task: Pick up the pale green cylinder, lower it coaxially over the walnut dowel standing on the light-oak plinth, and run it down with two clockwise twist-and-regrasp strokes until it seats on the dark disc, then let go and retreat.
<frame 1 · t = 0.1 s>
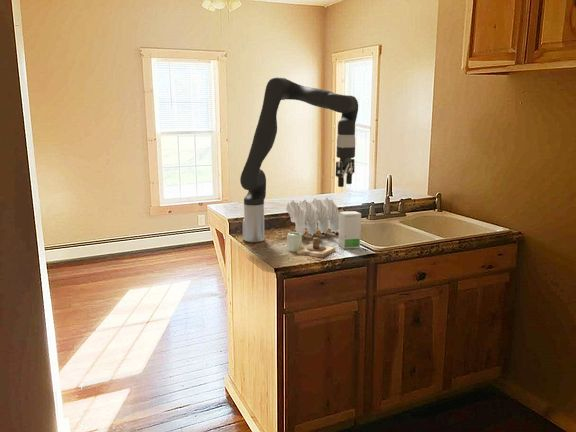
hand: (344, 185, 208), 29 cm above the table, fingers open, 8 cm apart
skincare box: (349, 247, 225), on the table
post: (316, 252, 216), on the table
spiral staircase: (315, 234, 247), on the table
pale green cylinder: (294, 249, 220), on the table
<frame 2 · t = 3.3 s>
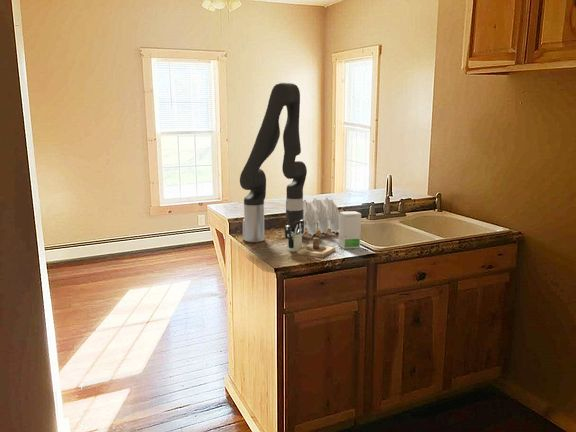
hand: (294, 245, 220), 2 cm above the table, fingers closed on pale green cylinder, 6 cm apart
pale green cylinder: (294, 249, 220), on the table, touching gripper
everything else where it was.
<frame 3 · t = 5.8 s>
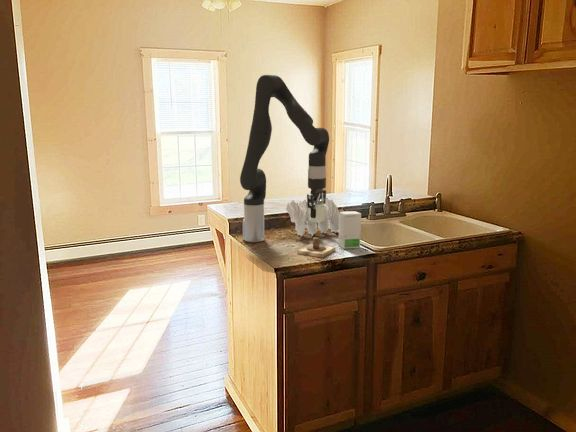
hand: (316, 216, 213), 16 cm above the table, fingers closed on pale green cylinder, 6 cm apart
pale green cylinder: (316, 219, 213), point 14 cm above the table, touching gripper
everything else where it was.
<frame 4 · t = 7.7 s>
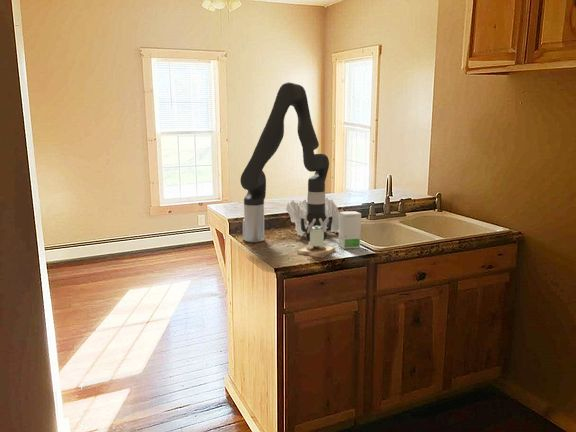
hand: (315, 240, 215), 5 cm above the table, fingers closed on pale green cylinder, 6 cm apart
pale green cylinder: (316, 244, 215), point 4 cm above the table, touching gripper
everything else where it was.
when the fingers open (5 cm above the table, at t = 8.6 s): pale green cylinder drops 2 cm, resting on post.
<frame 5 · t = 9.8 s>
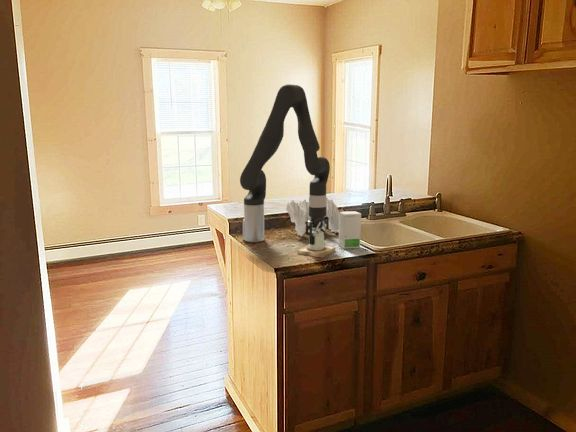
hand: (317, 242, 216), 4 cm above the table, fingers open, 8 cm apart
pale green cylinder: (316, 248, 216), point 2 cm above the table, touching post
everything else where it was.
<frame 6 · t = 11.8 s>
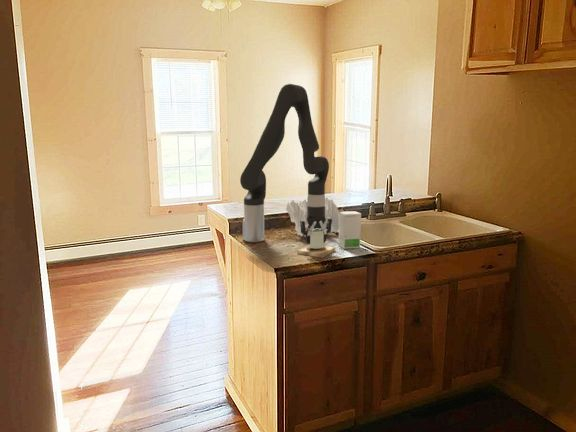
hand: (315, 243, 215), 4 cm above the table, fingers closed on pale green cylinder, 6 cm apart
pale green cylinder: (315, 246, 215), point 3 cm above the table, touching gripper
everything else where it was.
when the fingers open (3 cm above the table, at t = 13.2 s): pale green cylinder stays where it is, resting on post.
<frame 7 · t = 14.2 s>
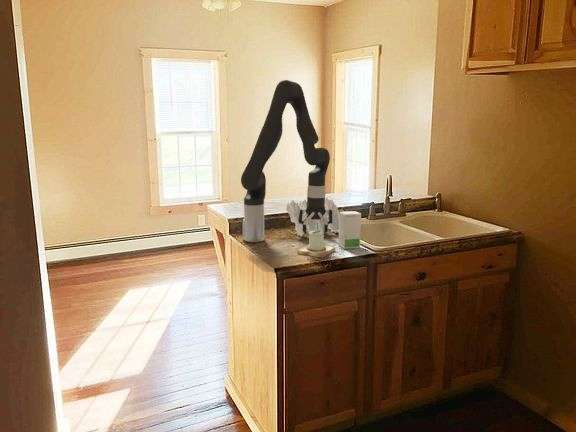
hand: (314, 233, 215), 8 cm above the table, fingers open, 8 cm apart
pale green cylinder: (316, 248, 216), point 2 cm above the table, touching post
everything else where it was.
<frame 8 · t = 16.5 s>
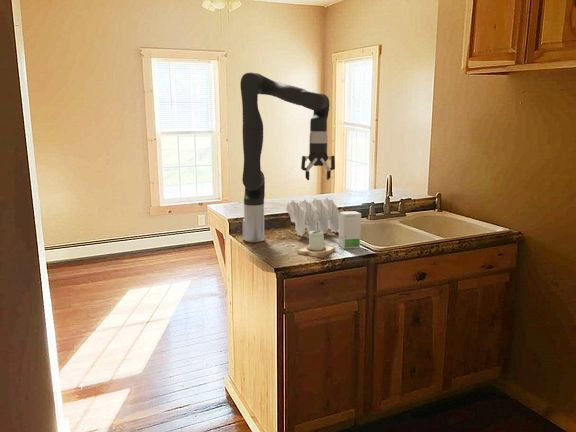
hand: (317, 179, 217), 30 cm above the table, fingers open, 8 cm apart
nothing on the table moved.
at the end: pale green cylinder 0.0 cm off-centre on the post, point 1.7 cm above the post's base; pale green cylinder tilted 0°; the gripper is holding nothing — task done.
